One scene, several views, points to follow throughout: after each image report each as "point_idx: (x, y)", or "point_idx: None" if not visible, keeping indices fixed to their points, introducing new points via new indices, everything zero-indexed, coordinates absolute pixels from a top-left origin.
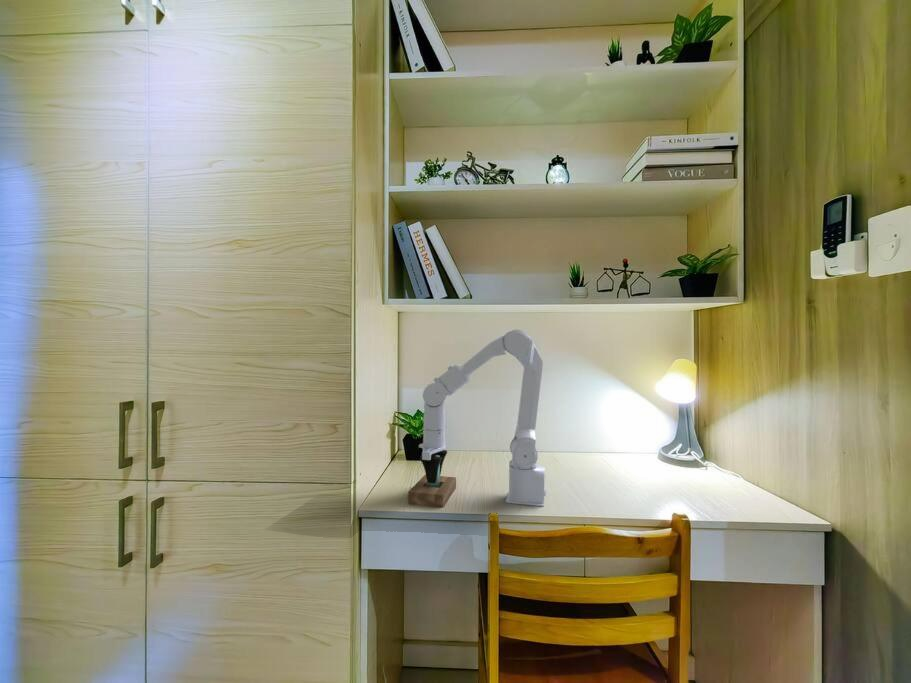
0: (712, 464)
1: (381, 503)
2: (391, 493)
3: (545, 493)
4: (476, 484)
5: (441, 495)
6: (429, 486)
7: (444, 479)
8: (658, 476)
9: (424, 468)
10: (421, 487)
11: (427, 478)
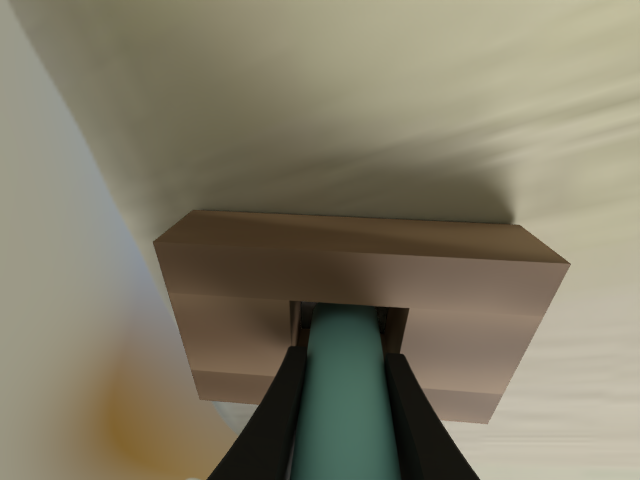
0: None
1: (129, 23)
2: (339, 17)
3: None
4: (527, 421)
5: (198, 391)
6: (312, 327)
7: (445, 383)
8: None
9: (231, 449)
10: (262, 298)
11: (279, 371)
